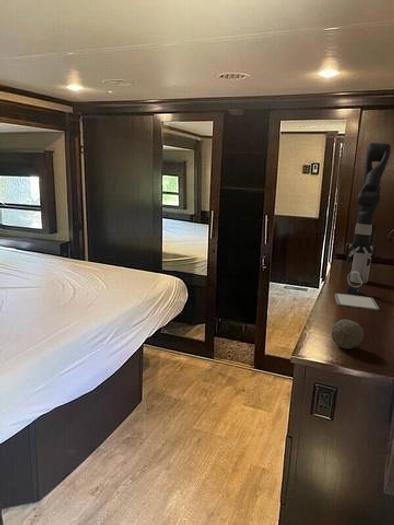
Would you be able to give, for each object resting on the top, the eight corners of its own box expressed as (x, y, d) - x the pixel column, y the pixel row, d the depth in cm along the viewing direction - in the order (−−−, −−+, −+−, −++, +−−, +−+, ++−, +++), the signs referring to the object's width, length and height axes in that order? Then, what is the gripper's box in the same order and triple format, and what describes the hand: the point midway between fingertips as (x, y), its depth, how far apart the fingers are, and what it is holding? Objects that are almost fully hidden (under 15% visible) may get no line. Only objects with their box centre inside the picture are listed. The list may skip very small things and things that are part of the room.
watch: (360, 295, 198) (364, 274, 195) (344, 292, 202) (347, 271, 200) (362, 293, 203) (366, 272, 200) (346, 289, 207) (349, 269, 204)
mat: (334, 294, 198) (334, 292, 198) (372, 298, 194) (372, 297, 194) (337, 305, 181) (338, 304, 181) (379, 310, 177) (380, 309, 177)
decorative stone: (329, 349, 135) (333, 322, 132) (330, 340, 142) (334, 314, 140) (361, 356, 131) (366, 328, 129) (360, 346, 139) (365, 319, 137)
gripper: (376, 233, 197) (371, 264, 201) (346, 230, 200) (342, 261, 204) (379, 235, 190) (374, 268, 194) (348, 232, 193) (343, 264, 197)
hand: (357, 264), depth 199 cm, fingers open, 8 cm apart
